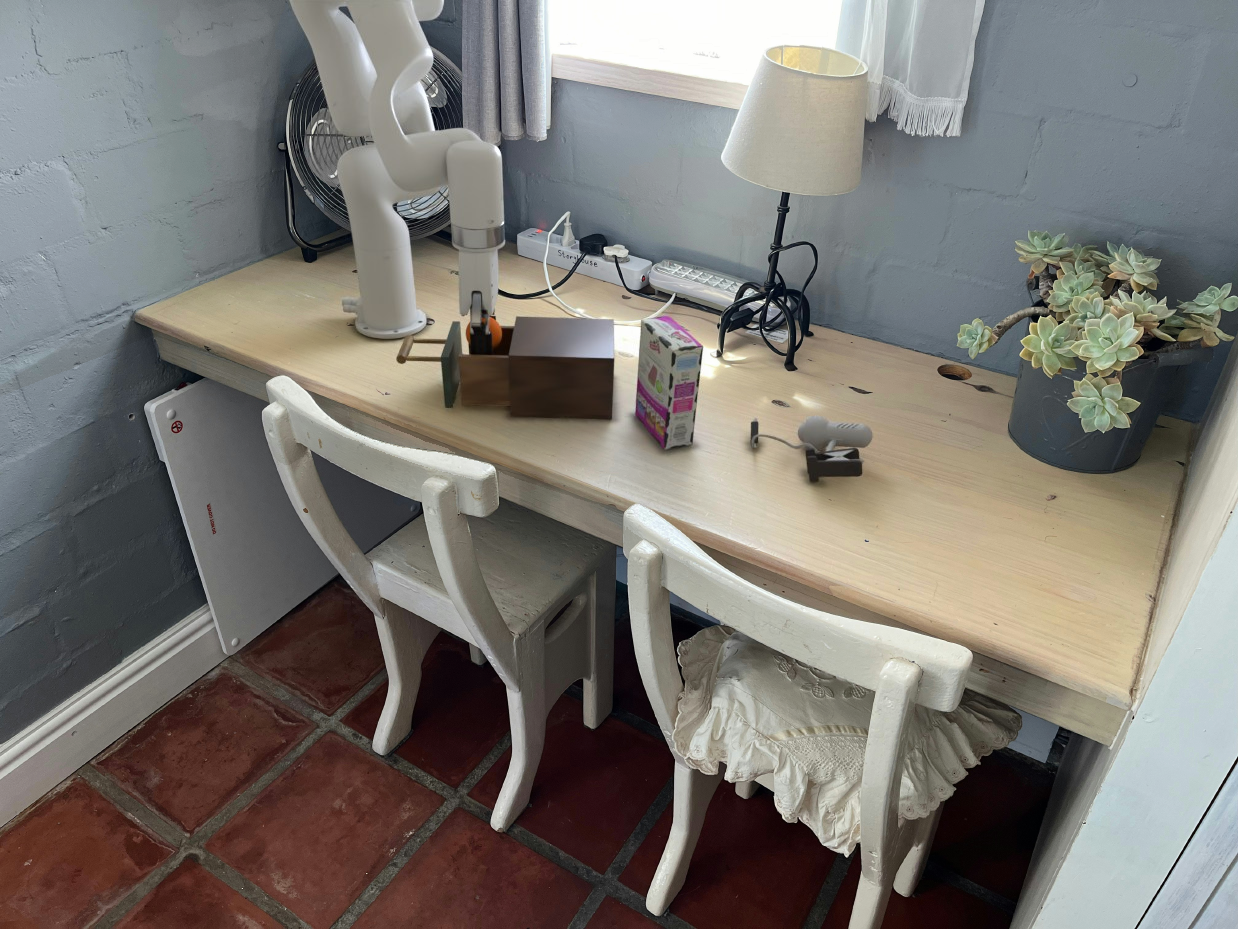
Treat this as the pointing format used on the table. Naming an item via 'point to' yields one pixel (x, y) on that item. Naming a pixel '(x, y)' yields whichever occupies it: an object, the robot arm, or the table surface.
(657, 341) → the candy bar box
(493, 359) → the drawer
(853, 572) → the table surface
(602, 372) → the cabinet
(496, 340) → the ball
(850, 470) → the clip-on lamp
